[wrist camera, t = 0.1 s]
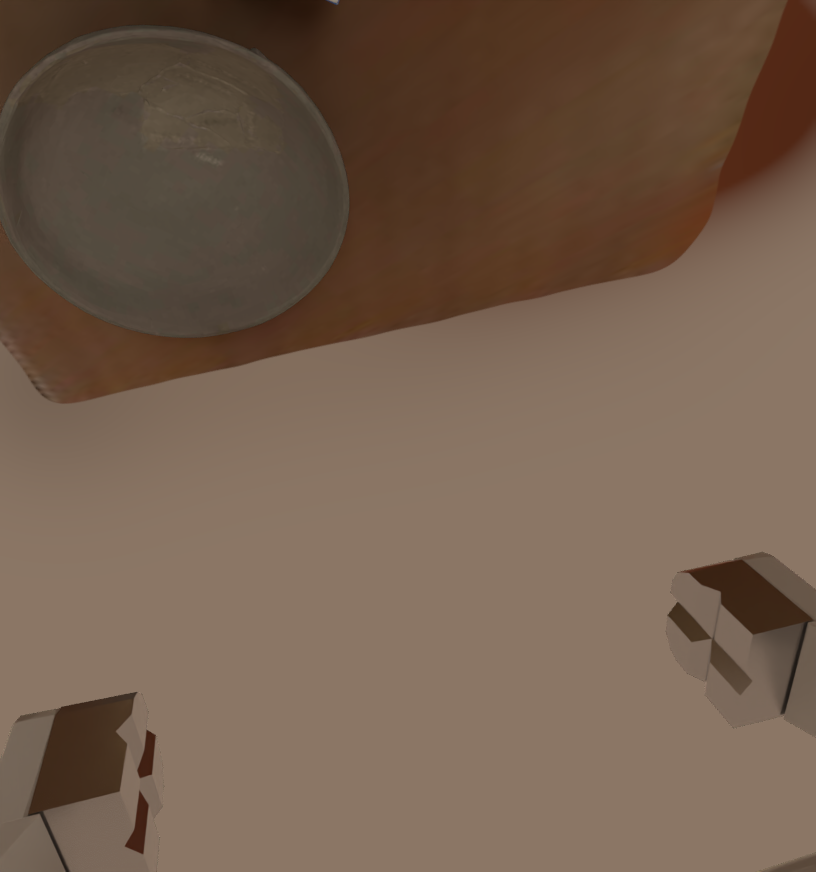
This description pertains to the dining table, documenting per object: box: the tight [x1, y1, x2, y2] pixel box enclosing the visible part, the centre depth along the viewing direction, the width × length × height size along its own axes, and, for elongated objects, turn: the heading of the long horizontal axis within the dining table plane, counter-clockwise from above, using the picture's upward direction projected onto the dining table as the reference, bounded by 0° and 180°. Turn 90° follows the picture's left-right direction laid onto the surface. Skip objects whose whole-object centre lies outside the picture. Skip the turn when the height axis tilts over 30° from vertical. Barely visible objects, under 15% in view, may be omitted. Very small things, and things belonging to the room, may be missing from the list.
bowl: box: [0, 25, 349, 338], centre depth 56 cm, size 26×26×10 cm
